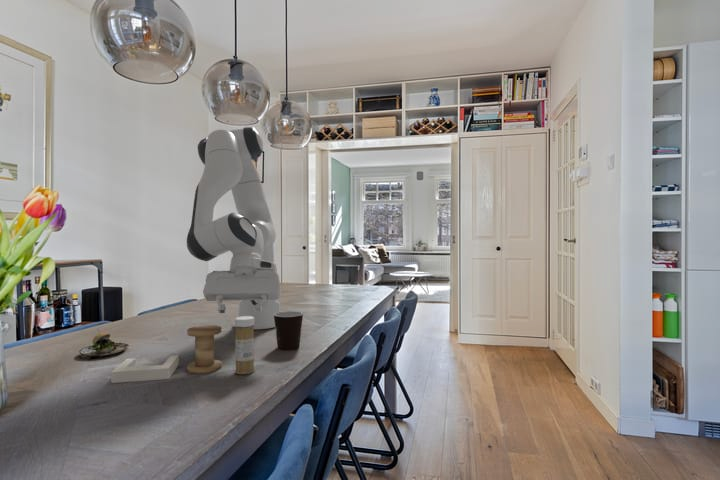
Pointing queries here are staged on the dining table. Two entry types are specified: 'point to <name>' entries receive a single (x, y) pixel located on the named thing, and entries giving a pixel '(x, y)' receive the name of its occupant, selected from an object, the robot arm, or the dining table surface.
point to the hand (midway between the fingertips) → (240, 311)
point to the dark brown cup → (288, 329)
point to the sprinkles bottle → (244, 345)
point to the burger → (102, 347)
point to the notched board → (143, 371)
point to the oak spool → (204, 349)
